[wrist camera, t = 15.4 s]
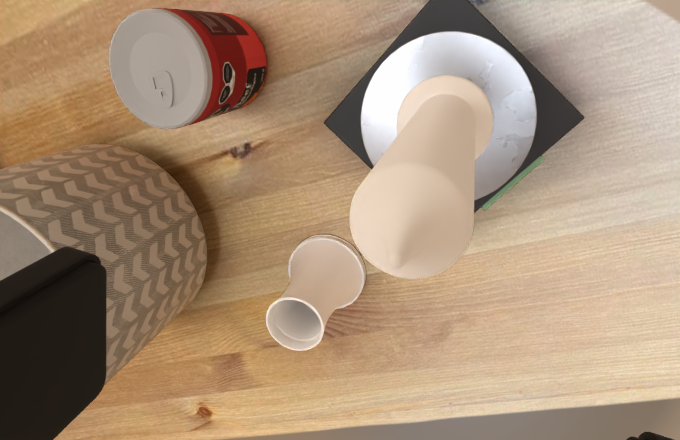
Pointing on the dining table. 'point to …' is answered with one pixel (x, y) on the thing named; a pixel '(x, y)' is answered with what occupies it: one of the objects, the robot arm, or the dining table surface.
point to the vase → (315, 290)
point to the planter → (109, 234)
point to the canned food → (185, 65)
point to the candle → (424, 181)
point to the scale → (478, 67)
